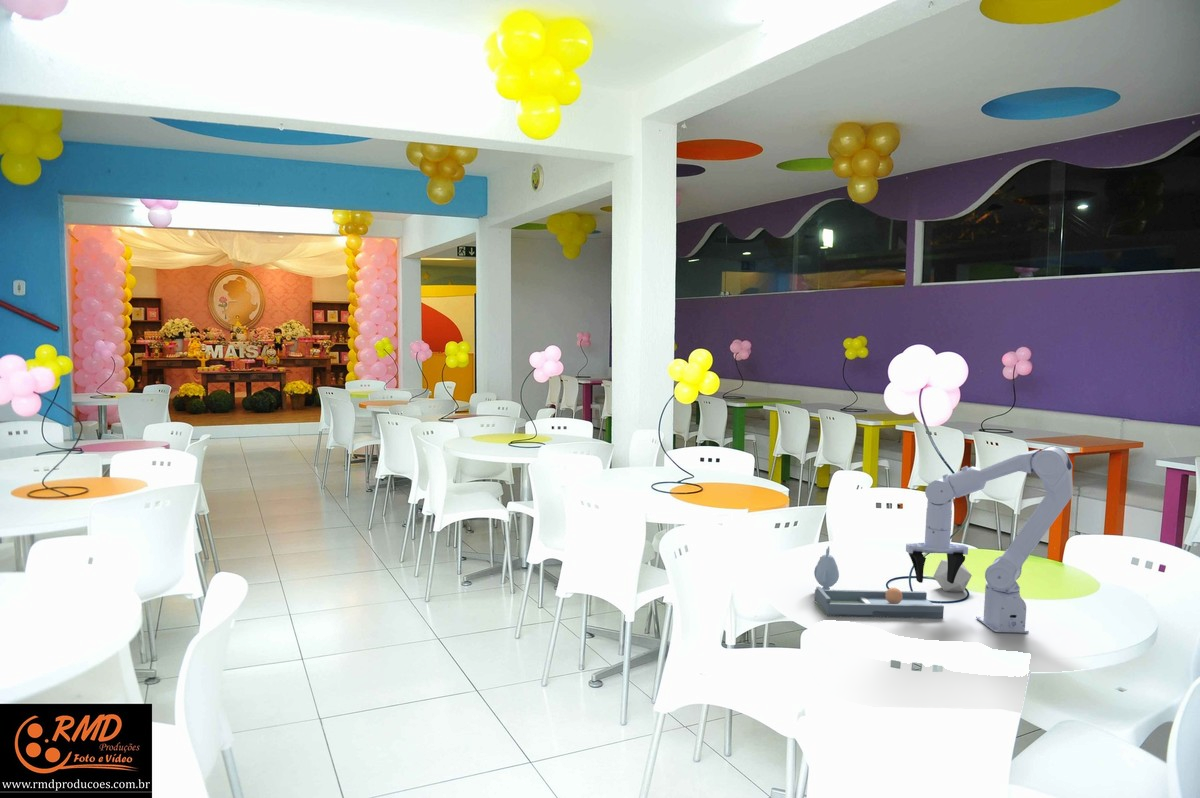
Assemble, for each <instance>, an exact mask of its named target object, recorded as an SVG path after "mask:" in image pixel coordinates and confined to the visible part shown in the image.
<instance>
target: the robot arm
mask: <svg viewBox="0 0 1200 798" xmlns="http://www.w3.org/2000/svg"><path fill="white" fill-rule="evenodd" d="M1018 472H1021V473H1027V474H1032V473H1036V476H1038V477H1039V479H1040V480H1041V482H1042V483H1043V487H1044V489H1045V492H1046V494H1045V496H1044V497H1043V498H1042V500H1041V501H1040V502H1039V504H1038V505H1037V506H1036V508H1035V509H1034V511H1033V513H1032V514H1031V515H1030V516H1029V518H1027V520H1026V522H1025V523H1024V525H1023V526H1022V528H1021V529H1020V531H1019V532H1018V533H1017V535H1016V536H1015V538H1014V539H1013V540H1012V542H1011V543H1010V544H1009V546H1008V547H1007V548H1006V550H1004V552H1003V554H1002V555H1001V556H998V557H996V559H994V561H993V562H992V564H990V565H989V566H988V567H987V568H986V570H985V571H984V578H985V581H986V582H985V587H984V589H985V591H984V601H983V602H984V605H983V615H976V616H975V618H976V619H977V620H978V621H980V623H982V624H984V625H985V626H986V627H987V628H989V629H990V630H992V631H993V632H995V633H1022V634H1023V633H1024V634H1028V633H1029V632H1030V631H1029V629H1027V628H1026V619H1027V603H1026V602H1025V601H1024V600H1025V599H1023V598H1022V596H1021V594H1020V593H1021V590H1020V589H1021V587H1020V585H1019V584H1018V582H1017V580H1018V579H1019V578H1020V577H1021V575H1022V567H1023V565H1024V564H1025V562H1026V561H1027V560H1028V558H1029V557H1030V555H1031V554H1032V552H1033V551H1034V550H1035V548H1036V547H1037V545H1038V544H1039V543H1040V541H1041V540H1042V538H1043V537H1044V536H1045V534H1047V532H1048V531H1049V529H1050V528H1051V526H1052V525H1053V524H1054V522H1055V521H1056V519H1058V517H1059V516H1060V514H1061V513H1062V511H1063V510H1064V509H1065V507H1066V506H1067V504H1068V503H1069V502H1070V501H1071V499H1072V498H1073V495H1074V485H1073V483H1074V482H1073V463H1072V461H1071V459H1070V456H1069V454H1068V452H1066V450H1065V449H1063V448H1062V447H1059V446H1056V445H1049V446H1046V447H1044V448H1042V449H1041V448H1039V449H1034V450H1029V451H1026V452H1022V453H1019V454H1016V455H1013V456H1011V457H1009V458H1007V459H1003V460H1002V461H998V462H996V463H994V464H991V465H989V466H986V467H984V468H979V467H976V466H970V467H969V466H968V465H965V466H963V467H961V469H960V471H956V472H954V473H951V474H947V473H946V474H943V475H942V477H941V478H936V479H933V480H932V481H931V482H930V483H928V484H927V486H926V487H925V490H924V492H925V493H924V494H925V497H926V498H927V502H926V503H927V505H926V506H927V507H926V516H925V517H926V518H925V531H924V532H925V533H924V542H915V543H913V542H912V543H905V552H907V553H908V555H909V558H910V560H911V562H912V565H913V569H914V572H915V578H916V579H915V580H916V581H917V582H918V583H920V584H923V582H924V570H925V569H924V568H925V563H926V559H927V558H926V557H925V556H924V554H946V558H947V559H946V560H947V561H948V570H947V581H948V582H950V583H954V580H955V577H956V574H957V572H958V570H959V568H960V566H961V565H962V564H964V562H965V561H966V556H965V555H968V554H969V546H967V545H965V544H955V543H951V532H952V531H951V529H952V516H953V515H952V513H953V510H952V506H953V499H954V498H957V499H958V498H962V497H964V496H968V495H969V494H972V493H975V492H978V491H981V490H983V489H984V488H985V485H986V484H987V482H989V481H992V480H995V479H998V478H1001V477H1005V476H1008V475H1010V474H1013V473H1018Z"/></svg>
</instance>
